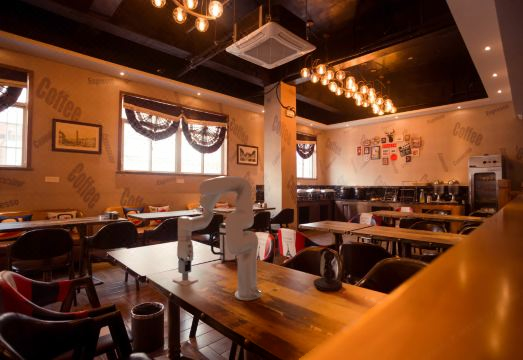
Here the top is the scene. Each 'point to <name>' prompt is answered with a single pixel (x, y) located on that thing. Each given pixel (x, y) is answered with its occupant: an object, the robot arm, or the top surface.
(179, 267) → the gray rectangular block
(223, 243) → the coffee press
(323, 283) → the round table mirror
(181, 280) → the post stand
